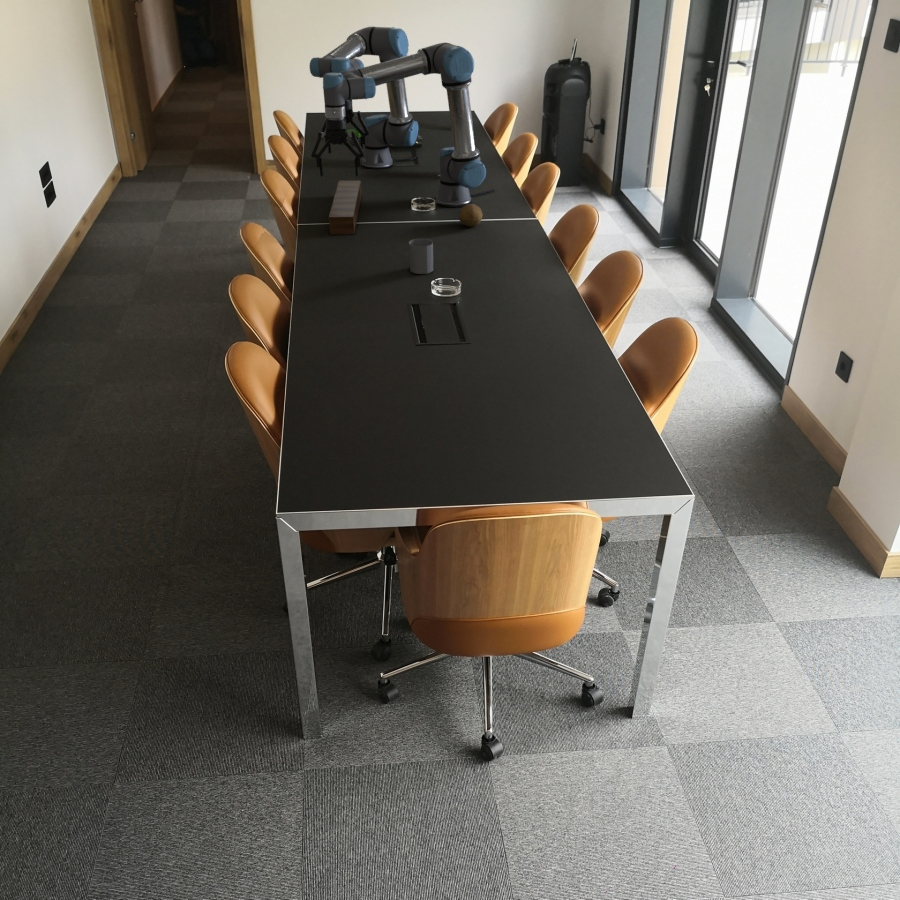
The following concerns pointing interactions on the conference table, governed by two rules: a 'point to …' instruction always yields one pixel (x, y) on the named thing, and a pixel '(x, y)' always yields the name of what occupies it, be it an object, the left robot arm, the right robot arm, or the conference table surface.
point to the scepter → (355, 135)
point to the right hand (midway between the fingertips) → (339, 175)
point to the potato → (470, 215)
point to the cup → (421, 256)
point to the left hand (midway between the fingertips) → (346, 152)
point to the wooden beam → (345, 207)
